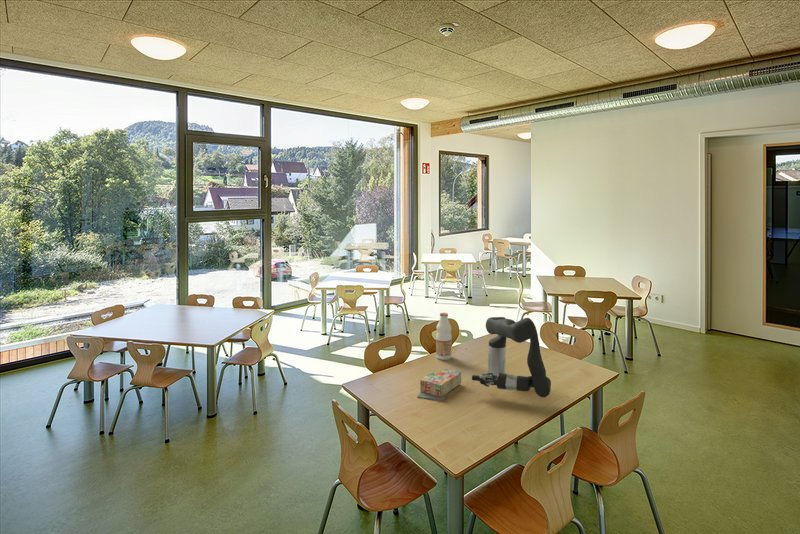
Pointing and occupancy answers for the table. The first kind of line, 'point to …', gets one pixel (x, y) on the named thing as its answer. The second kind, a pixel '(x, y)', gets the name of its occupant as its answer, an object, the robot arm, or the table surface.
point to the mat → (431, 396)
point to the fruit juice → (443, 338)
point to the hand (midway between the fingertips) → (472, 377)
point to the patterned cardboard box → (440, 382)
